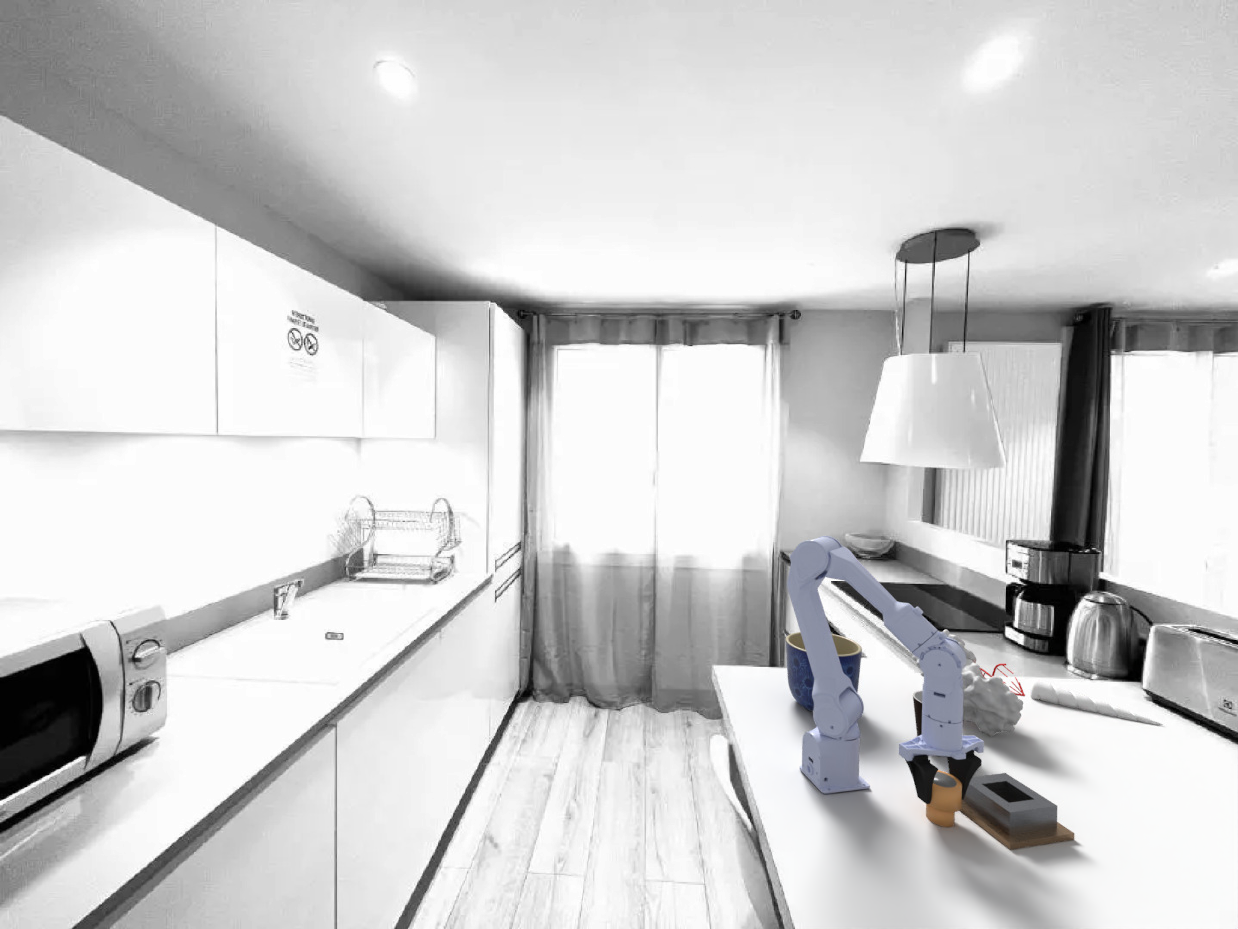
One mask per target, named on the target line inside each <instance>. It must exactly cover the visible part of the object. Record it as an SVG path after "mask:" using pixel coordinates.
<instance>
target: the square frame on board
mask: <svg viewBox="0 0 1238 929" xmlns="http://www.w3.org/2000/svg"><path fill="white" fill-rule="evenodd" d="M959 812H961V813H963V814H964V815H965V817H968V818H969V819H970V820H971V821H972V822H974V823H976V825H978V826H979V827H981V828H982V829H983V830H984V831H986V833H988V834H989V835H991V836H992V837H993V838H995V839H996V840H997V841H998V842H999V843H1001V844H1002V845H1003V846H1005V847H1007V848H1008V849H1009V850H1018V849H1024V848H1030V847H1036V846H1043V845H1047V844H1048V845H1049V844H1054V843H1055V844H1056V843H1062V842H1066V841H1068V842H1069V841H1074V840H1075V832H1074V831H1072V830H1070V829H1069V828H1068V827H1066V826H1065V825H1063V824H1061V823H1060V822H1058V805H1057V804H1056V803H1054V802H1052V801H1051V800H1049V799H1048V798H1046V797H1044V796H1042V795H1041V794H1040V793H1038V792H1036V791H1035V790H1033V789H1032V788H1030V787H1028V785H1027V786H1026V785H1025V784H1024V783H1022V782H1020V781H1019V780H1018V779H1016V778H1014V777H1012V776H1011V775H1009V774H1007V772H1002V773H1001V772H1000V773H994V774H993V773H992V774H985V775H978V776H973V777H972V779H971V781H970V783H969V786H968V788H967V791H966V794H965V797H964V799H962V806H961V810H960V811H959Z"/></svg>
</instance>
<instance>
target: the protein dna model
mask: <svg viewBox="0 0 1238 929" xmlns="http://www.w3.org/2000/svg"><path fill="white" fill-rule="evenodd" d="M942 632H944V633H945V634H946V635H947V637H949V638H952V639H954V640H956V641H958V643H959V645H960V646H961V647H962V648H963V650H964V652H965V654H966V664H965V667H964V668H963V670H962V680H963V687H962V689H963V721H965V722H972V723H974V724H976V726H977V728H978V729H979V731H980V732H982V733H985V734H987V735H988V736H989V737H991V738H992V737H994V736H995V735H996V734H998V733H1000V734H1001V733H1002V732H1014V731H1015V730H1016V728H1015V726H1016V725H1017V724H1018V722H1019V721H1020V720H1021V717H1022V713H1021V711H1022V710H1023V708H1024V706H1023V705H1024V701H1023V700H1022V699H1019V697H1018V696H1020V697H1026V694H1025V693H1024V690H1023V687H1022V684H1021V682H1019V681H1018V680H1019V679H1018V678H1017V677H1016V676H1014V679H1015V680H1016V683H1017V684H1018V686H1017V685H1016V684H1015V683H1014V682H1013V681H1010V682H1011V683H1012V685H1013V686H1015V688H1016V689H1015V688H1013V687H1012V686H1011V685H1009V686H1007V683H1006V682H1005V681H1003V680H1004V679H1003V678H1002V677H1001V676H998V675H995V673H996V671H997V670H998V671H999V672H1000V673H1001V674H1002V675H1004V676H1005V677H1006V678H1008V675H1007V674H1005V673H1004V672H1003V671H1001V670H1000V669H999V668H998V667H1000V666H1002V667H1003V668H1005V669H1006V670H1007V671H1008V672H1010V673H1011V674H1012V675H1014V672H1012V670H1010V669H1008V667H1006V666H1007V664H1006V663H998V664H996V665H995V666H994V668H993V671H992V674H990V673H989V672H987V671H986V670H985V669H983V668H981V667H980V665H979V664H978V663H976V662H977V657H976V655H975V653H974V652H973V651H972V650H970V649H967V648H966V646H965V645H966V642H965V641H964V640H963V639H962V638H960V637H959V636H958V635H955V634H951V632H950V631H949V630H948V629H944V630H943V631H942ZM911 659H912V660H913V661H915V663H916V666H917V667H918V668H919V669H920V670H921V668H920V665H919V658H918V657H916V656H914V655H913V654H912V656H911ZM985 675H987V676H989V678H986V677H985ZM920 676H921V677H923V678H924V673H923V672H922V671H921V672H920ZM1009 687H1010V688H1011V689H1012V690H1010V688H1009ZM1013 690H1014V691H1015V692H1014V691H1013ZM1016 692H1017V693H1016Z"/></svg>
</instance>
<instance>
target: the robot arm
mask: <svg viewBox="0 0 1238 929" xmlns="http://www.w3.org/2000/svg"><path fill="white" fill-rule="evenodd" d="M789 559H790V567H789V570H788V575H787V581H786V588H787V591H788V594H789V599H790V602H791V605H792V608H793V611H794V612H793V613H794V615H795V619H796V621H797V626H798V629H799V632H801V636H802V639H803V642H804V646H805V649H806V652H807V656H808V659H809V663H810V666H811V669H812V673H813V676H814V686H813V691H812V698H813V701H814V710H813V711H812V718H813V721H814V723H815V725H816V727H815V728H813V729H811V730H808V731H806V732H804V734H803V735H802V739H801V740H802V742H801V746H802V748H801V750H802V751H801V765H800V766H799V770H800V771H801V773H802V774H804V776H806V778H808V780H809V781H810V782H811V783H812V784H813V785H814V786H815V787H816V788H817V789H818V790H819V791H820V792H821V793H822V794H825V795H826V794H832V793H841V792H842V793H843V792H848V791H849V792H850V791H857V790H865V789H870V787H871V785H870V783H868V782H867V781H866V780H865V779H864V778H863V777H862V776H860V743H861V742H860V739H861V737H860V736H861V731H860V729H859V725H858V724H859V723H858V720H859V719H860V718H861V717H862V716H863V714H864V711H865V705H864V700H863V699H862V697H861V695H860V694H859V693H857V692H856V691H855V689H854V687H853V685H852V682H851V680H850V678H849V677H847V676H846V675H845V674H844V673H843V670H842V667H841V664H840V661H839V657H838V654H837V651H836V648H835V644H834V641H833V638H832V635H831V634H832V632H831V629H830V626H829V622H828V619H827V616H826V612H825V609H824V606H823V603H822V599H821V596H820V593H819V587H820V586H821V585H822V583H823V581H824V580H825V578H827V579H828V578H829V579H832V580H833V579H834V580H838V581H844V582H846V583H847V584H848V585H850V586H851V587H852V588H853V589H854V590H855V591H857V593H858V594H859V595H860V596H862V597H863V599H865V600H866V601H867V602H869V604H870V605H872V607H874V608H875V609H876V610H877V611H879V613H881V615H882V618H883V619H882V620H883V626H884V627H885V628H886V629H887V630H888V631H889V632H890V633H891V634H892V635H893V636H894V637H895V638H896V639H897V640H898V641H899V642H900V644H902V645H903V647H905V648H906V649H907V650H908V651H909V652H910V653H911V655H912V656H913V655H914V656H916V657H918V658H919V665H920V668H921V669H920V668H919V669H920V670H921V672H923V673H924V677H923V683H922V691H923V694H922V735H920V736H917V735H916V737H913V738H911V739H909V740H907V741H902V742H898V755H899V757H901V758H902V759H904V761H905V764H906V765H907V766H908V768H909V771H910V774H911V776H912V780H913V782H914V783H913V784H914V787H915V791H916V796H917V798H918V799H919V800H920V801H922V802H923V803H924V804H925V805H926V804H930V803H931V799H932V786H933V781H934V778H935V775H936V773H937V771H938V770H939V768H938V767H937V766H936V765H934V764H933V763H931V760H930V759H929V757H934V756H936V755H937V756H936V757H941V756H947V757H946V760H947V766H948V773H949V774H951V775H953V776H954V777H956V778H957V779H958V780H959V781H960V782H961V784H962V799H964V797H965V794H966V791H967V788H968V786H969V783H970V781H971V779H972V777H974V775H975V774H976V772H977V771H978V770H979V769H980V768H981V767H982V758H981V757H979V756H977V755H975V752H976V753H978V754H982V753H983V754H984V753H985V752H984V750H985V749H984V746H985V741H984V740H982V739H981V738H979V737H977V736H976V735H963V729H964V728H963V727H964V726H963V725H964V724H963V723H964V719H963V689H962V687H963V680H962V670H963V668H964V667H965V664H966V654H965V652H964V650H963V648H962V647H961V646H960V645H959V643H958V641H956V640H954V639H952V638H949V637H947V635H946V634H945V633H944V632H943V631H940V630H938V629H937V628H936V627H935V626H934V625H933V624H932V622H930V621H928V619H927V618H926V617H924V616H923V614H924V611H923V610H922V608H920V607H919V606H916V607H914V606H913V605H912V604H910V603H909V602H901V601H897V599H896V598H894V596H893V595H892V594H891V593H890V592H889V591H888V590H887V589H886V588H885V587H884V586H883V585H882V584H881V583H880V581H878V579H876V577H874V575H872V573H871V572H870V571H869V570H868V569H867V568H866V567H865V566H864V565H863V564H862V563H861V562H860V561H859V560H858V559H857V558H856V556H855V555H854V554H853V552H852V551H851V550H850V549H849V548H847V547H846V546H843V545H842V543H841V542H840V540H838V539H836V538H835V537H833V536H830V535H822V536H819V537H817V538H814V539H807V540H803V541H801V542H800V543H799V544H797V546H796V547H795V549H794V550H793V551H792V552H791V554H790V555H789Z"/></svg>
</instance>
